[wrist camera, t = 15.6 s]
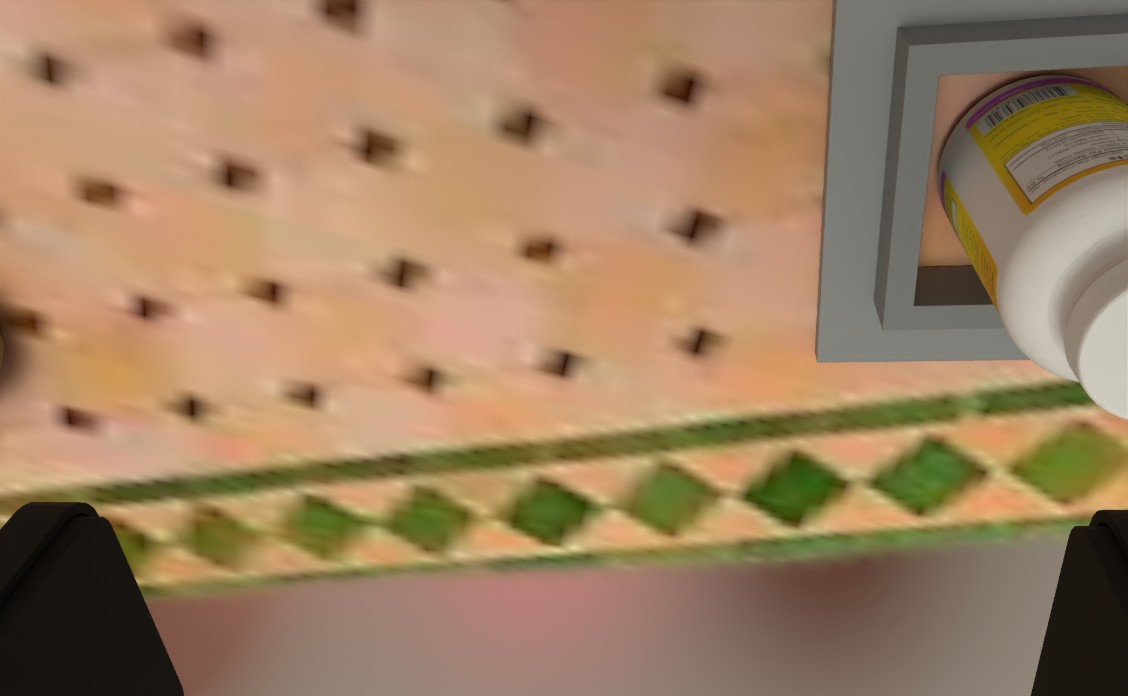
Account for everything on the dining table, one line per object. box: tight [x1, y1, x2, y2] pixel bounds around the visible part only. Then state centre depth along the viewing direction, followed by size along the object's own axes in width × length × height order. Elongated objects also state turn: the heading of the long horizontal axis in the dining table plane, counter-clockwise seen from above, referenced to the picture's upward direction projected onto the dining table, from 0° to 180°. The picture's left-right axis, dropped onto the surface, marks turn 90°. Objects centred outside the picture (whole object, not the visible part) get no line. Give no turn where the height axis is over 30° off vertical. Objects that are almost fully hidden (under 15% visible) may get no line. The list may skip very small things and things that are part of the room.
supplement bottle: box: [938, 75, 1128, 419], centre depth 30 cm, size 7×7×13 cm
